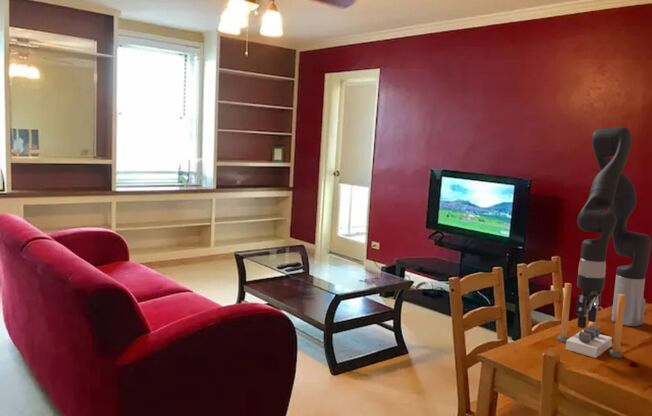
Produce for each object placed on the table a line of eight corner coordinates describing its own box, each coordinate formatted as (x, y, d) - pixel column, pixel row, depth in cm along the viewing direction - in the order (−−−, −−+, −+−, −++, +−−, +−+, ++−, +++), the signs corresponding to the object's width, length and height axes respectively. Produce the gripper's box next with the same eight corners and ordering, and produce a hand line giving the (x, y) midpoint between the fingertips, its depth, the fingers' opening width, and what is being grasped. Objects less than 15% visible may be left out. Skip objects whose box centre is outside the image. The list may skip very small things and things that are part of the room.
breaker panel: (582, 338, 182) (583, 329, 182) (611, 346, 176) (612, 337, 175) (565, 349, 172) (566, 339, 172) (595, 358, 166) (596, 348, 165)
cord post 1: (566, 338, 181) (571, 282, 179) (571, 342, 178) (576, 285, 175) (555, 338, 181) (560, 282, 179) (560, 342, 178) (565, 285, 175)
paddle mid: (585, 334, 175) (585, 328, 174) (595, 337, 173) (595, 330, 172) (583, 337, 174) (583, 330, 173) (593, 339, 172) (593, 333, 171)
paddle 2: (590, 331, 178) (590, 325, 177) (600, 334, 176) (600, 327, 175) (588, 334, 177) (588, 327, 176) (598, 336, 175) (598, 330, 174)
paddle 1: (581, 337, 172) (580, 331, 171) (591, 340, 170) (590, 333, 169) (579, 340, 171) (578, 333, 170) (589, 342, 169) (589, 336, 168)
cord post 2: (618, 353, 170) (624, 293, 168) (624, 358, 167) (631, 297, 164) (606, 352, 170) (613, 293, 168) (612, 357, 167) (619, 296, 164)
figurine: (608, 334, 187) (612, 300, 185) (601, 338, 183) (604, 303, 181) (583, 327, 193) (587, 294, 191) (576, 331, 189) (579, 297, 187)
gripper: (587, 267, 175) (582, 316, 178) (570, 275, 165) (565, 326, 168) (612, 272, 170) (607, 322, 172) (596, 280, 160) (590, 333, 162)
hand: (586, 324), depth 170 cm, fingers open, 8 cm apart
